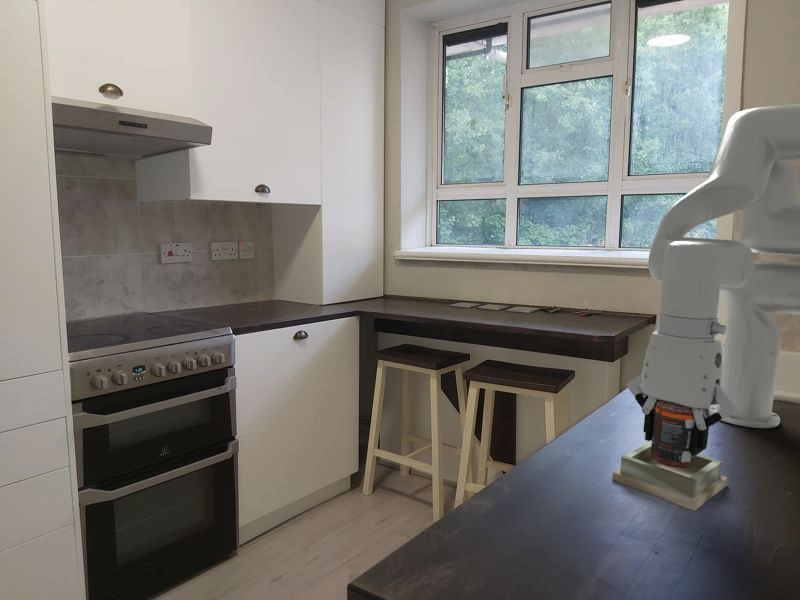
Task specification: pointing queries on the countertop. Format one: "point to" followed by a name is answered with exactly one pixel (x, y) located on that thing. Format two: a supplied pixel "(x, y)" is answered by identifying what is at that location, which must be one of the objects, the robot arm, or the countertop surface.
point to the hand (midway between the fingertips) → (673, 444)
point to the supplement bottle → (672, 434)
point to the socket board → (672, 478)
